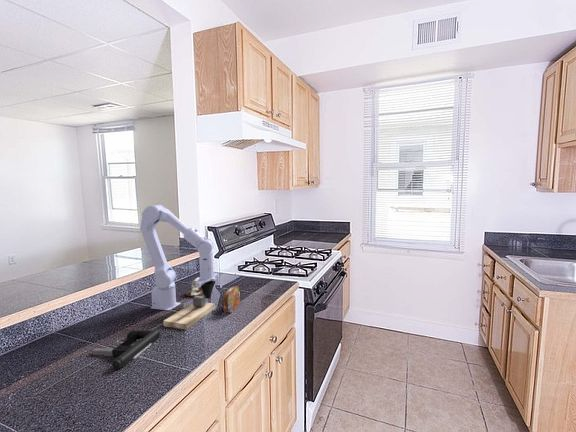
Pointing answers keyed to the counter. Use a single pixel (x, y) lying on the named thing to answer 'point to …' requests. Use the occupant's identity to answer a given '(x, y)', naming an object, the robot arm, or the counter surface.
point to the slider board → (188, 316)
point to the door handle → (129, 347)
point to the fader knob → (199, 301)
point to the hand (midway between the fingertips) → (207, 298)
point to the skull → (195, 290)
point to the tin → (231, 299)
